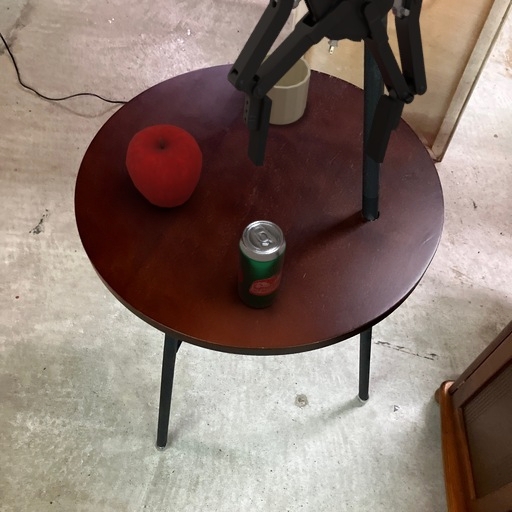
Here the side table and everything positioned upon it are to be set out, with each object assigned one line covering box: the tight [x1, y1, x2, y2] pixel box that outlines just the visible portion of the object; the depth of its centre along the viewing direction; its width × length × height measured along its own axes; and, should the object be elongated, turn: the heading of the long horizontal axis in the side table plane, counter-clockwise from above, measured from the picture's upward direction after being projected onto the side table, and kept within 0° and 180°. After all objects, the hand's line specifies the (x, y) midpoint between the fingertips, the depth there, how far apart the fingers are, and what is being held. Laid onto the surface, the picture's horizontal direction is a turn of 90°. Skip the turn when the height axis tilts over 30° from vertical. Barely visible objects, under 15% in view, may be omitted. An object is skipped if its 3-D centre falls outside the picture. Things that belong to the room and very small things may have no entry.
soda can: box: [237, 220, 287, 309], centre depth 63 cm, size 5×5×12 cm
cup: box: [262, 51, 311, 126], centre depth 83 cm, size 8×8×7 cm
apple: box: [125, 124, 203, 208], centre depth 71 cm, size 10×10×11 cm
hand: (316, 159), depth 57 cm, fingers open, 13 cm apart
